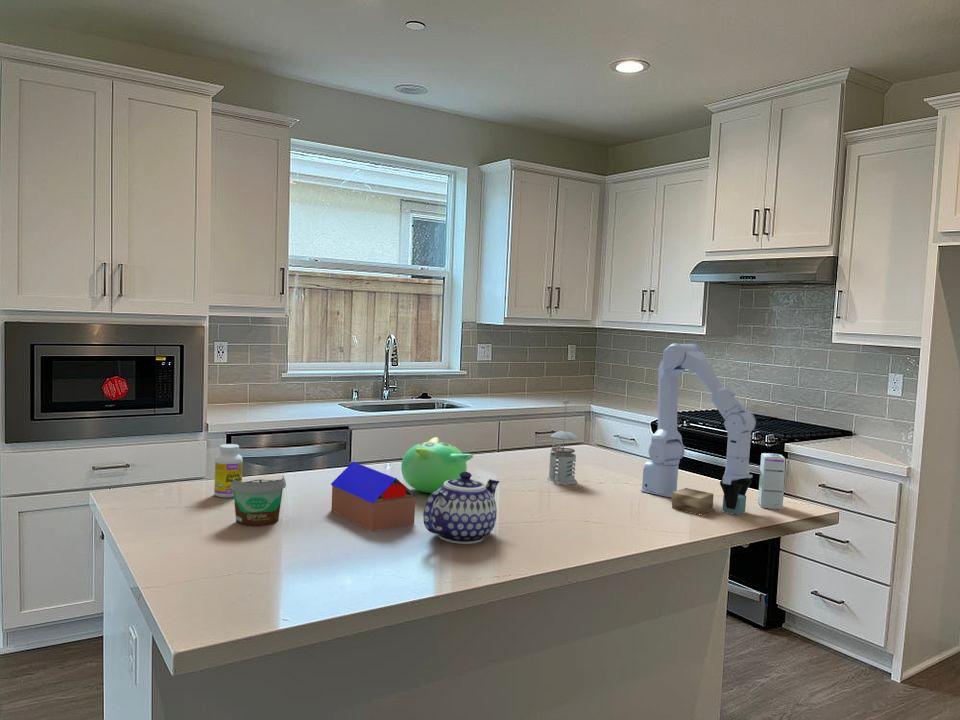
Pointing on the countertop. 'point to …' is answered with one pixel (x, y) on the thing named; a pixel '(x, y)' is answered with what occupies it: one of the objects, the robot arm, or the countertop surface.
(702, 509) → the slab bottom
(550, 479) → the french press
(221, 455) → the supplement bottle
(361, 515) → the house
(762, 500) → the syrup box
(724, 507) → the teal cube
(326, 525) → the countertop surface
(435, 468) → the toy bird
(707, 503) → the slab top
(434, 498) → the teapot
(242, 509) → the food container
